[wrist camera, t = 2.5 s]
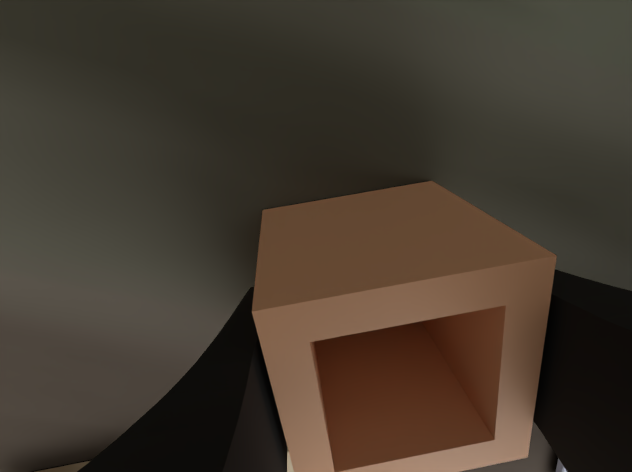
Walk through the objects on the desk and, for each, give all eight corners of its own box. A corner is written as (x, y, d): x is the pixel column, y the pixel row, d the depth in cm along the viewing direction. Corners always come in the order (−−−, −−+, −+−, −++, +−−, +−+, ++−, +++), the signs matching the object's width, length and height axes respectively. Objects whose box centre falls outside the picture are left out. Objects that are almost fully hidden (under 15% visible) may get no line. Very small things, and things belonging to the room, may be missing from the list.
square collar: (432, 180, 10) (556, 255, 6) (433, 319, 12) (528, 457, 8) (262, 209, 10) (251, 311, 6) (292, 346, 12) (302, 504, 8)
